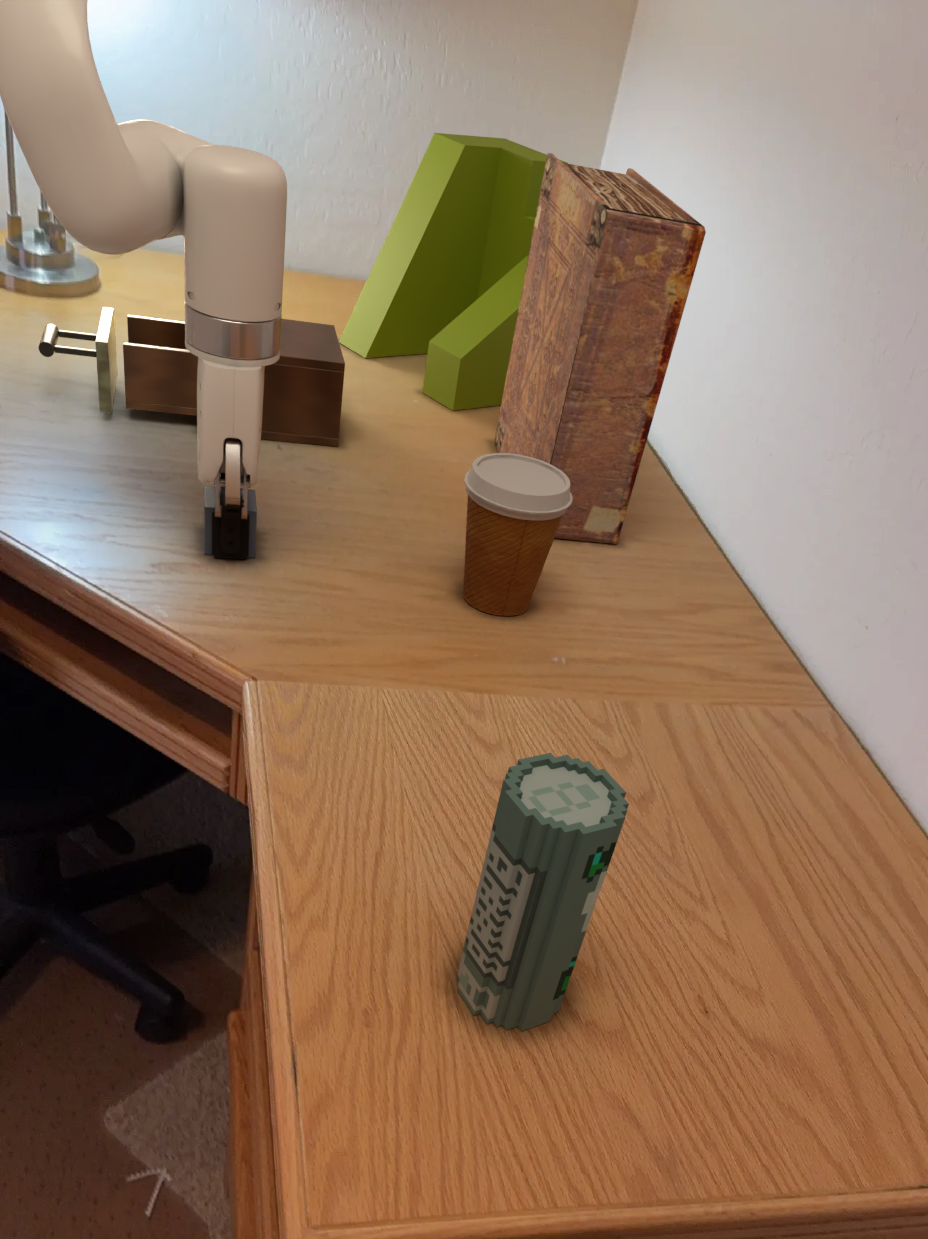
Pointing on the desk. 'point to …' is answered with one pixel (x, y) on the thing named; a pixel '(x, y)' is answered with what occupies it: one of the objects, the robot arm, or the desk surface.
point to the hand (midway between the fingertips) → (229, 540)
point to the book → (596, 335)
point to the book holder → (454, 268)
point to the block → (210, 507)
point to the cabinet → (304, 386)
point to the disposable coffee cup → (510, 529)
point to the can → (538, 887)
